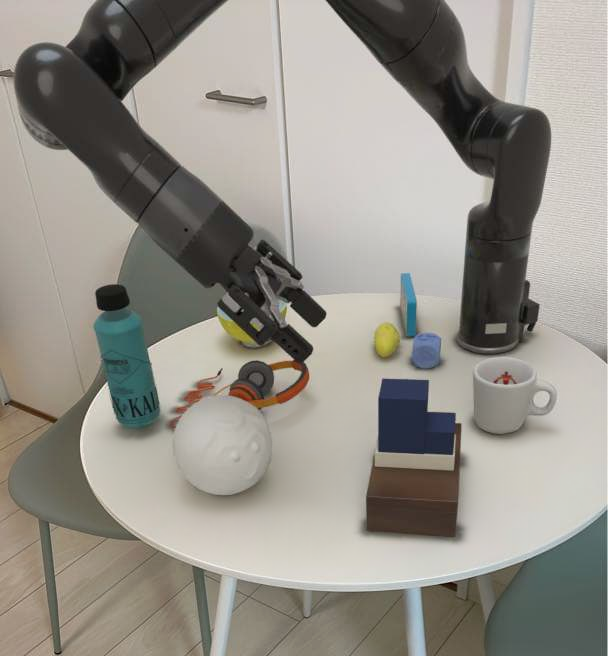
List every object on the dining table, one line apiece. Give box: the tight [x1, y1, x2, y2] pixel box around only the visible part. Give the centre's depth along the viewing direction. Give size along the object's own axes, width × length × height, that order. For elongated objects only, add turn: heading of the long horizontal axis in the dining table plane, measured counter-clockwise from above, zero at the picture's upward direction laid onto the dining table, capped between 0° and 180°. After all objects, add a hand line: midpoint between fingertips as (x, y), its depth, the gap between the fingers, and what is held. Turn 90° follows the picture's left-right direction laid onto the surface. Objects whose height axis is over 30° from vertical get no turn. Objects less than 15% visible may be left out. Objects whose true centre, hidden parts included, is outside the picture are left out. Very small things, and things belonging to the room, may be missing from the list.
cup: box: [472, 356, 558, 435], centre depth 98 cm, size 11×8×8 cm
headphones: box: [169, 359, 310, 429], centre depth 108 cm, size 17×5×20 cm
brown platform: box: [365, 422, 463, 538], centre depth 90 cm, size 16×10×5 cm, turn 170°
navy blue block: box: [374, 378, 457, 471], centre depth 85 cm, size 9×5×9 cm, turn 80°
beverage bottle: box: [93, 283, 162, 428], centre depth 101 cm, size 6×7×20 cm
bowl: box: [216, 300, 288, 348], centre depth 123 cm, size 11×12×6 cm
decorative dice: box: [411, 332, 442, 369], centre depth 115 cm, size 4×4×4 cm
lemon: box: [373, 322, 401, 358], centre depth 119 cm, size 4×8×4 cm, turn 169°
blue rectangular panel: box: [399, 272, 418, 338], centre depth 125 cm, size 12×2×6 cm, turn 179°
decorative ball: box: [172, 394, 273, 496], centre depth 91 cm, size 12×12×12 cm
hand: (314, 338), depth 80 cm, fingers open, 8 cm apart
